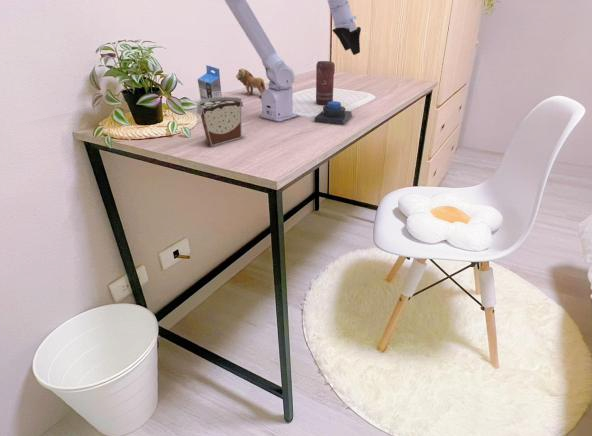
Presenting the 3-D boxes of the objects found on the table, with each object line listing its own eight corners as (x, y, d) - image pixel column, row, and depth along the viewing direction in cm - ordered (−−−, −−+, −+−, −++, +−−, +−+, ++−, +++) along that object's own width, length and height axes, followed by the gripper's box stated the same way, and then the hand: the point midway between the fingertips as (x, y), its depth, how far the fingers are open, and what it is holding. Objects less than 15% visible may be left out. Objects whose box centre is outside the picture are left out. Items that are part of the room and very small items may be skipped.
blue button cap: (338, 111, 113) (338, 104, 112) (326, 109, 114) (326, 103, 113) (341, 108, 116) (342, 102, 115) (329, 106, 117) (329, 100, 116)
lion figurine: (235, 94, 141) (233, 68, 136) (244, 91, 145) (242, 67, 140) (266, 99, 135) (265, 73, 131) (275, 96, 139) (274, 71, 135)
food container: (231, 131, 102) (227, 94, 97) (246, 136, 99) (242, 98, 94) (191, 141, 94) (185, 101, 89) (206, 147, 90) (200, 106, 85)
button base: (343, 125, 111) (343, 113, 109) (314, 122, 113) (314, 110, 111) (351, 116, 120) (352, 105, 118) (325, 113, 122) (325, 102, 120)
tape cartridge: (200, 104, 126) (194, 65, 119) (211, 102, 128) (206, 64, 122) (213, 110, 120) (208, 69, 114) (224, 108, 123) (219, 68, 116)
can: (333, 106, 131) (334, 63, 123) (315, 105, 131) (315, 62, 123) (333, 101, 136) (335, 61, 129) (316, 101, 136) (317, 60, 129)
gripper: (360, 1, 102) (372, 50, 111) (343, -3, 114) (355, 42, 122) (337, 11, 102) (351, 59, 110) (322, 7, 113) (336, 51, 122)
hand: (352, 51), depth 116 cm, fingers open, 7 cm apart
